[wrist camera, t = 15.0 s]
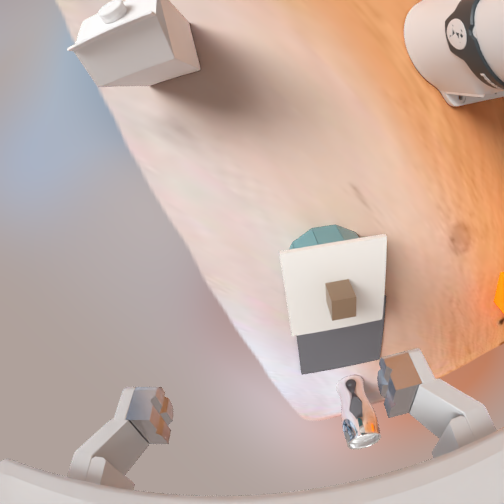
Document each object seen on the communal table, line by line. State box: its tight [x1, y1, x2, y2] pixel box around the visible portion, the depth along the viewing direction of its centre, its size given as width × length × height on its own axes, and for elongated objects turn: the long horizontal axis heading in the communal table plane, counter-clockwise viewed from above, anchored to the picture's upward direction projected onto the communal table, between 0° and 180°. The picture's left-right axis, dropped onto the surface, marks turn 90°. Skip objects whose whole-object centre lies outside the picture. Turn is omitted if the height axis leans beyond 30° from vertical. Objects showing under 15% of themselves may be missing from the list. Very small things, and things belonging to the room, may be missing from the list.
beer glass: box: [336, 375, 381, 449], centre depth 56 cm, size 7×7×15 cm
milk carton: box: [67, 0, 201, 87], centre depth 25 cm, size 7×7×19 cm
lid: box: [279, 234, 387, 336], centre depth 41 cm, size 14×14×5 cm
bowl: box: [290, 225, 359, 249], centre depth 46 cm, size 13×13×6 cm
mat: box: [297, 295, 386, 374], centre depth 55 cm, size 16×16×1 cm
